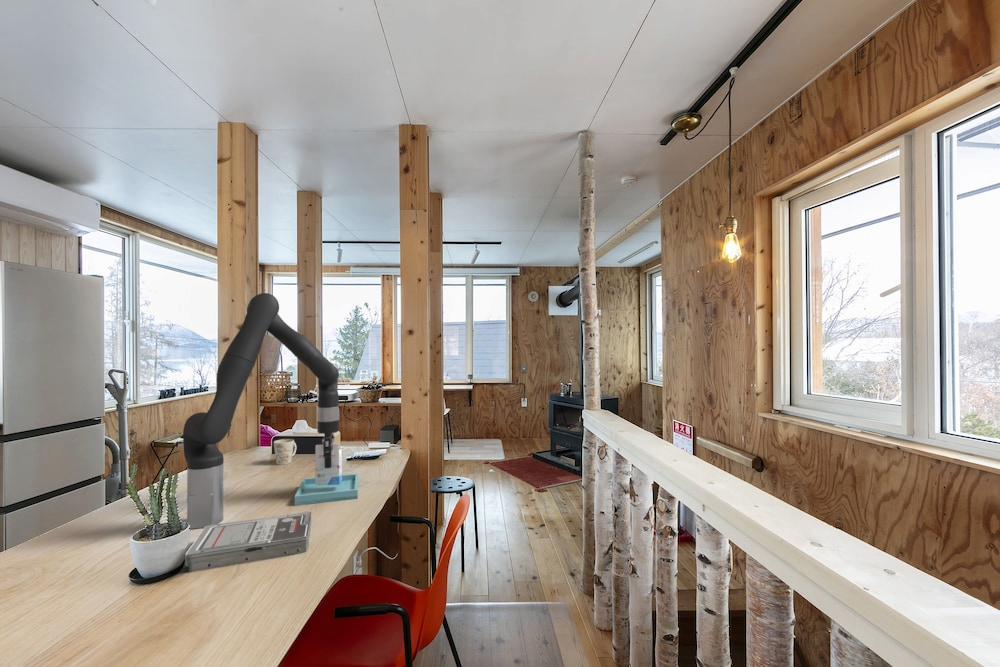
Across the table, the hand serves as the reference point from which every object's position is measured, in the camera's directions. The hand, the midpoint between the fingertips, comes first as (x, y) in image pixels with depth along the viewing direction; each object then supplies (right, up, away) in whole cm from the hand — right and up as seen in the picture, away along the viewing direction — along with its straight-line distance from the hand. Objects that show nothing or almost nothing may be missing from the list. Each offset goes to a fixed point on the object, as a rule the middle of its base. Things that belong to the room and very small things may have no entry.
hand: (328, 465), depth 158 cm
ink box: (0, -7, 0) cm, 7 cm away
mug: (-36, -11, +42) cm, 56 cm away
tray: (0, -10, 0) cm, 10 cm away
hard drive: (-3, -10, -42) cm, 43 cm away
